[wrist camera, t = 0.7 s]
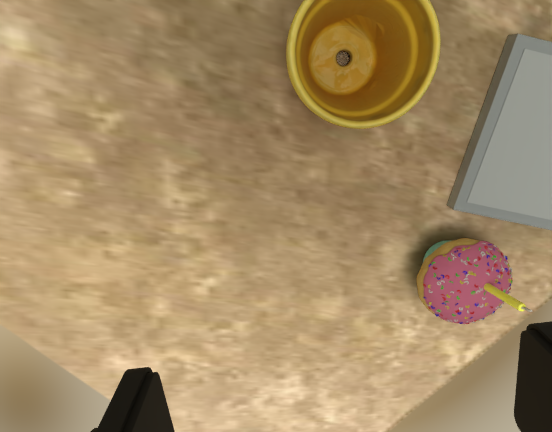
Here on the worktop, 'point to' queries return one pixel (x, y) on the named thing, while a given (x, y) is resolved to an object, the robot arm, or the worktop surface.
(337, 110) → the plant pot
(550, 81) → the grey flat block
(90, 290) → the worktop surface
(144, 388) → the robot arm
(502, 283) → the cupcake
